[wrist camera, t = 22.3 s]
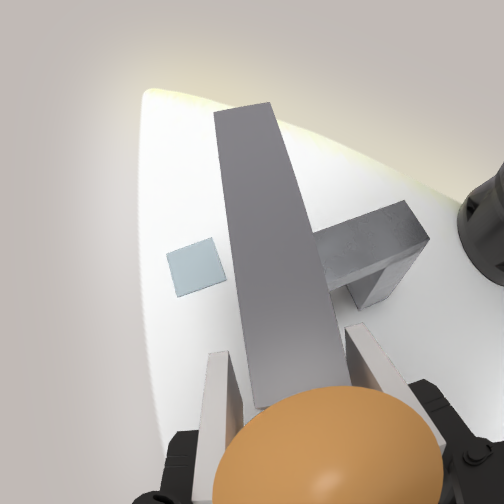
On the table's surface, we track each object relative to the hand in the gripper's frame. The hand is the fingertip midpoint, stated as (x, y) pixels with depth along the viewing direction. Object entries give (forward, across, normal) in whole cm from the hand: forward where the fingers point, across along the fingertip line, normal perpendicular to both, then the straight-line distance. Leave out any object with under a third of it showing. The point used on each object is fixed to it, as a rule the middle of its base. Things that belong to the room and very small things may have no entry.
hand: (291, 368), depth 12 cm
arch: (+21, +6, -8) cm, 23 cm away
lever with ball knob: (+5, 0, 0) cm, 5 cm away
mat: (+26, -8, -3) cm, 28 cm away
